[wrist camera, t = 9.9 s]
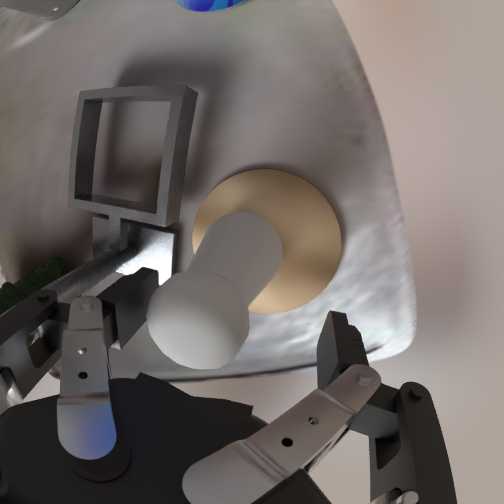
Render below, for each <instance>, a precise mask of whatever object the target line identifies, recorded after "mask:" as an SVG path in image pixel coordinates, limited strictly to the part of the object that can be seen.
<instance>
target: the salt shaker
mask: <svg viewBox="0 0 504 504" xmlns="http://www.w3.org/2000/svg"><path fill="white" fill-rule="evenodd" d="M282 262H283V253H282V242H281V240H280V238H279V236H278V234H277V232H276V230H275V228H274V226H273V225H272V224H271V223H269V222H268V221H267V220H265V219H264V218H262V217H261V216H260V215H257V214H253V213H248V212H244V211H237V212H234V213H230V214H227V215H223V216H221V217H220V218H219V219H218V220H216V221H215V222H214V223H213V224H212V225H211V226H209V228H208V229H207V231H206V233H205V235H204V237H203V239H202V241H201V243H200V245H199V247H198V249H197V251H196V253H195V255H194V257H193V259H192V261H191V263H190V265H189V267H188V269H187V271H183V272H179V273H175V274H174V275H172V276H171V277H170V278H168V279H167V280H166V281H165V282H164V283H163V284H162V285H161V286H160V287H158V288H157V289H156V290H155V291H154V293H153V295H152V296H151V298H150V301H149V305H148V309H147V314H146V319H147V323H148V327H149V332H150V335H151V337H152V338H153V340H154V341H155V343H156V344H157V345H158V347H159V348H160V349H161V351H162V352H163V353H164V354H165V355H167V356H168V357H169V358H171V359H172V360H174V361H175V362H176V363H178V364H181V365H184V366H187V367H190V368H194V369H216V368H220V367H222V366H223V365H225V364H227V363H229V362H230V361H232V360H234V358H235V357H236V355H237V354H238V352H239V351H240V349H241V347H242V345H243V344H244V342H245V340H246V338H247V336H248V333H249V328H250V326H249V313H248V306H249V305H250V304H251V303H252V302H253V301H254V300H255V299H256V297H257V296H258V295H259V294H260V293H261V292H262V291H263V290H264V288H265V287H266V286H267V285H268V284H269V283H270V282H271V280H272V279H273V278H274V277H275V275H276V273H277V271H278V270H279V268H280V266H281V264H282Z"/></svg>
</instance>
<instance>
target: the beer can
mask: <svg viewBox="0 0 504 504" xmlns="http://www.w3.org/2000/svg"><path fill="white" fill-rule="evenodd" d="M174 1H175V2H176V3H177V4H178V5H180V6H181V7H183V8H185V9H188V10H191V11H196V12H215V11H222V10H227V9H230V8H233V7H236V6H238V5H240V4H242V3H244V2H245V1H247V0H174Z"/></svg>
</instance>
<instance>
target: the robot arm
mask: <svg viewBox="0 0 504 504" xmlns="http://www.w3.org/2000/svg"><path fill="white" fill-rule="evenodd" d="M78 1H79V0H0V6H2V7H6V8H10V9H14V10H18V11H21V12H25V13H28V14H32V15H35V16H37V17H40V18H44V19H47V20H53V19H56V18H58V17H60V16H62V15H63V14H65V13H66V12H67V11H68V10H70V9H71V8H72V7H73V6H74V5H75V4H76V3H77V2H78ZM158 287H159V272H158V270H155V269H151V268H147V267H141V268H140V269H139V270H137V271H136V272H135V273H133V274H132V273H131V274H128V275H125V276H123V277H121V278H120V279H118V280H117V281H116V282H114V283H113V284H112V285H111V286H109V287H108V288H107V289H105V290H104V291H103V292H101V293H100V294H99V295H97V296H96V297H94V296H81V297H78V298H76V299H74V300H73V301H72V302H71V304H68V303H62V302H58V297H57V293H56V292H55V291H53V290H50V289H42V290H38V291H36V292H34V293H32V294H31V295H30V296H28V297H27V298H25V299H24V300H23V301H21V302H20V303H19V304H17V305H16V306H14V307H13V308H12V309H10V310H9V311H8V312H6V313H5V314H4V315H3V316H1V317H0V504H332V503H331V502H330V501H329V500H328V498H327V497H326V496H325V495H324V493H323V492H322V491H321V490H320V489H319V487H318V486H317V485H316V483H315V482H314V481H313V480H312V478H311V477H310V476H309V473H310V472H311V471H312V470H313V469H314V468H315V467H316V466H317V465H318V464H319V462H320V461H321V460H322V459H323V458H324V457H325V456H326V455H327V454H328V453H329V452H330V451H331V450H332V449H333V448H334V447H335V446H336V445H337V444H338V443H339V442H340V440H342V439H343V437H344V436H345V435H346V434H347V433H348V432H349V431H350V430H353V431H356V432H359V433H361V434H364V435H367V436H369V451H370V480H371V481H370V484H371V485H370V486H371V487H370V501H371V502H370V503H369V504H457V499H456V493H455V488H454V482H453V477H452V472H451V467H450V463H449V458H448V454H447V450H446V446H445V442H444V438H443V434H442V431H441V427H440V424H439V420H438V417H437V414H436V410H435V407H434V404H433V401H432V398H431V395H430V393H429V391H428V390H427V389H426V388H425V387H424V386H423V385H420V384H418V383H416V382H406V383H404V384H403V385H402V386H401V388H400V389H396V388H393V387H390V386H387V385H384V384H382V383H381V377H380V375H379V374H378V372H376V371H375V370H374V369H373V368H371V367H369V363H368V360H367V356H366V352H365V348H364V344H363V342H362V337H361V333H360V332H359V331H358V330H357V328H356V327H355V326H352V325H349V324H348V320H347V316H346V313H341V312H336V311H331V310H330V311H329V312H328V315H327V317H326V320H325V323H324V326H323V329H322V332H321V334H320V337H319V340H318V345H317V376H318V388H317V389H315V390H314V391H313V392H311V393H310V394H309V395H308V396H307V397H305V398H304V399H302V400H301V401H300V402H299V403H297V404H296V405H295V406H293V407H292V408H291V409H289V410H288V411H286V412H285V413H284V414H282V415H281V416H280V417H278V418H277V419H275V420H274V421H273V422H271V423H270V424H268V423H266V422H265V421H264V420H262V419H260V418H258V417H256V416H254V415H252V409H253V406H250V405H246V404H242V403H238V402H233V401H230V400H225V399H216V398H204V397H194V396H190V395H188V394H187V393H185V392H183V391H181V390H180V389H178V388H176V387H174V386H173V385H171V384H169V383H168V382H166V381H163V380H160V379H157V378H155V377H152V376H149V375H147V374H144V373H141V372H140V373H139V375H138V376H137V378H136V379H130V378H117V379H112V372H111V365H110V358H109V351H108V349H109V348H110V347H111V346H112V347H114V348H117V349H119V350H121V349H122V348H123V346H124V345H125V344H126V343H127V342H128V341H129V340H130V338H131V337H132V336H133V335H134V334H135V333H136V332H137V330H138V329H139V328H140V327H141V326H142V325H143V324H144V323H145V321H146V320H147V319H146V314H147V309H148V305H149V301H150V298H151V296H152V295H153V293H154V291H155V290H156V289H157V288H158ZM36 329H38V333H39V336H40V337H39V338H38V339H37V340H36V341H35V342H34V343H33V344H32V345H31V346H29V347H28V348H27V345H26V341H27V338H28V336H29V335H30V334H31V333H32V332H33V331H34V330H36ZM60 357H61V371H60V394H58V395H54V396H50V397H46V398H42V399H38V400H34V401H30V402H25V403H23V399H24V398H25V397H26V396H27V395H28V393H29V392H30V391H31V390H32V389H33V388H34V387H35V385H36V384H37V383H38V382H39V380H41V378H42V377H43V376H44V375H45V374H46V373H47V372H48V371H49V370H50V368H51V367H52V366H53V365H54V364H55V363H56V362H57V361H58V360H59V359H60Z"/></svg>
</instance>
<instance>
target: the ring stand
mask: <svg viewBox="0 0 504 504" xmlns="http://www.w3.org/2000/svg"><path fill="white" fill-rule="evenodd" d="M197 96H198V92H196V91H194V90H193V89H191V88H189V87H187V86H186V85H149V86H128V87H115V88H104V89H95V90H87V91H80V94H79V99H78V105H77V110H76V116H75V123H74V130H73V138H72V147H71V158H70V171H69V193H68V207H72V208H77V209H82V210H87V211H91V212H96V213H101V214H106V215H109V216H105V215H100V214H98V215H95V216H93V259H92V260H90V261H88V262H86V263H85V264H83V265H81V266H79V267H78V268H76V269H74V270H72V271H71V272H69V273H67V274H65V275H64V276H62V277H60V278H59V279H57V280H55V281H54V282H52V283H50V284H49V285H47V286H45V287H44V288H42V289H50V290H53V291H55V292H56V293H57V297H58V302H62V303H70V302H71V301H73V300H74V299H75V298H77V297H78V296H80V295H81V294H82V293H84V292H85V291H87V290H88V289H90V288H91V287H93V286H94V285H96V284H97V283H98V282H100V281H101V280H103V279H104V278H106V277H107V276H109V275H110V274H112V273H113V272H115V271H116V272H119V273H123V274H126V275H128V274H131V273H132V274H133V273H135V272H136V271H137V270H139V269H140V268H141V267H147V268H151V269H155V270H158V272H159V285H162V284H163V283H164V282H165V281H166V280H167V279H168V278H170V277H171V276H172V275H174V274H175V270H176V256H177V244H178V233H179V231H175V230H170V229H165V228H161V227H156V226H152V225H147V224H142V223H138V222H133V221H128V219H129V220H134V221H139V222H143V223H148V224H153V225H157V226H162V227H167V226H168V225H170V224H172V223H174V222H176V221H178V220H179V216H180V207H181V198H182V190H183V182H184V175H185V167H186V161H187V154H188V147H189V141H190V135H191V129H192V123H193V117H194V112H195V107H196V101H197ZM127 101H172V103H171V108H170V113H169V119H168V125H167V131H166V137H165V144H164V151H163V158H162V166H161V174H160V182H159V191H158V202H157V206H156V205H150V204H145V203H139V202H134V201H128V200H122V199H117V198H111V197H105V196H99V195H93V194H92V185H93V171H94V159H95V150H96V141H97V133H98V126H99V120H100V113H101V108H102V103H106V102H127ZM42 289H40V290H42ZM18 304H19V303H18ZM15 306H16V305H15ZM13 307H14V306H13ZM13 307H12V308H13ZM12 308H10V309H12ZM10 309H9V310H10ZM9 310H7V311H6V312H8V311H9ZM6 312H4V313H3V314H1V315H0V317H1V316H3V315H4V314H5V313H6Z"/></svg>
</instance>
